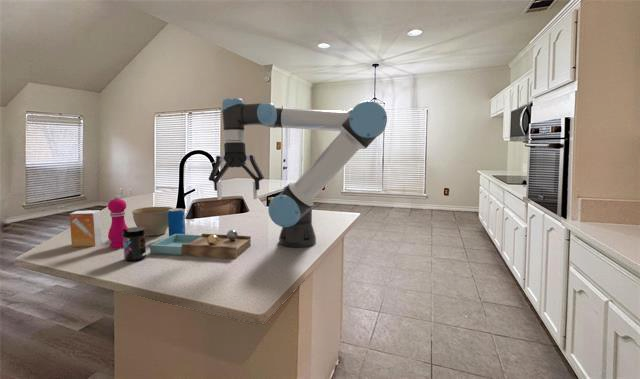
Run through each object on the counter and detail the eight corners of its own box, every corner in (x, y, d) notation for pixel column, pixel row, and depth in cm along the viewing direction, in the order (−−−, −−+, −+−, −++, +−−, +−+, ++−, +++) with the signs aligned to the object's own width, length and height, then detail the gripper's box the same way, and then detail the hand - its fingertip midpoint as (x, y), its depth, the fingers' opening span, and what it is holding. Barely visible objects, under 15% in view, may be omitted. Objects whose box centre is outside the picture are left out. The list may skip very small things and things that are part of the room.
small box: (71, 247, 124) (68, 213, 122) (79, 242, 130) (77, 210, 128) (95, 246, 126) (93, 213, 124) (102, 241, 132) (100, 209, 130)
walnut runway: (250, 245, 129) (250, 236, 128) (235, 258, 114) (235, 247, 113) (202, 243, 131) (202, 233, 131) (182, 255, 117) (181, 244, 116)
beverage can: (179, 239, 136) (178, 211, 135) (165, 238, 137) (164, 210, 136) (188, 235, 142) (187, 208, 141) (175, 234, 144) (174, 207, 142)
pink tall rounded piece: (134, 245, 128) (131, 194, 125) (116, 250, 121) (113, 196, 119) (122, 242, 131) (119, 193, 128) (104, 247, 124) (100, 195, 122)
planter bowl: (181, 232, 148) (180, 208, 146) (146, 240, 134) (145, 214, 133) (161, 227, 156) (160, 204, 155) (126, 234, 143) (124, 210, 141)
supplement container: (129, 256, 115) (127, 227, 114) (149, 255, 116) (147, 226, 115) (120, 262, 109) (118, 232, 107) (142, 261, 110) (140, 231, 108)
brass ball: (220, 244, 120) (220, 233, 120) (215, 247, 116) (215, 236, 116) (210, 243, 121) (210, 233, 120) (205, 247, 117) (204, 236, 116)
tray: (203, 242, 132) (203, 235, 132) (181, 255, 116) (181, 247, 116) (175, 241, 134) (175, 233, 133) (150, 253, 118) (149, 245, 117)
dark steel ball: (239, 239, 127) (239, 229, 127) (235, 241, 123) (235, 231, 123) (229, 238, 128) (229, 228, 127) (225, 241, 124) (225, 231, 123)
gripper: (270, 141, 124) (272, 197, 126) (205, 143, 125) (208, 198, 127) (266, 141, 116) (268, 200, 119) (197, 142, 117) (200, 201, 120)
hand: (237, 199), depth 123 cm, fingers open, 13 cm apart
